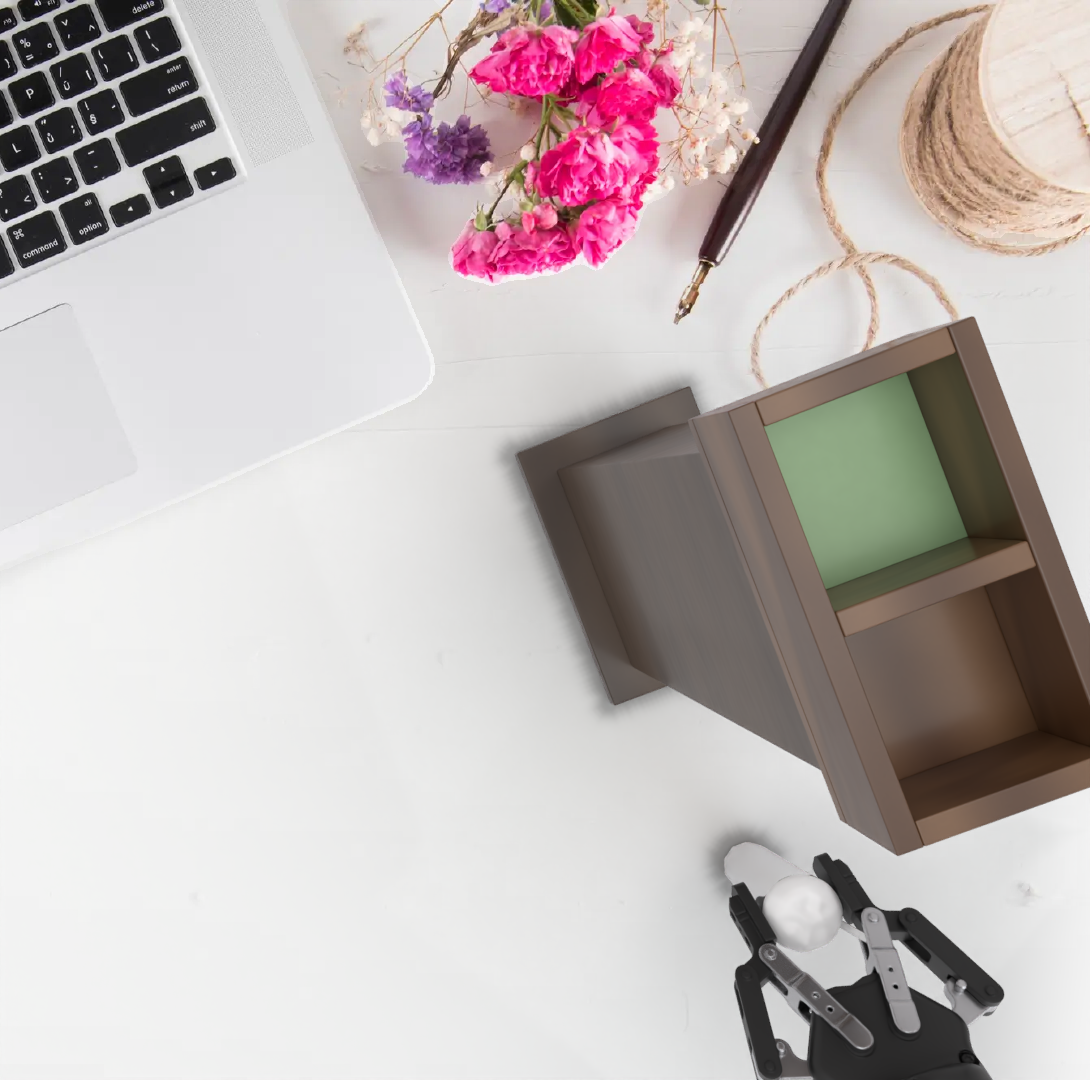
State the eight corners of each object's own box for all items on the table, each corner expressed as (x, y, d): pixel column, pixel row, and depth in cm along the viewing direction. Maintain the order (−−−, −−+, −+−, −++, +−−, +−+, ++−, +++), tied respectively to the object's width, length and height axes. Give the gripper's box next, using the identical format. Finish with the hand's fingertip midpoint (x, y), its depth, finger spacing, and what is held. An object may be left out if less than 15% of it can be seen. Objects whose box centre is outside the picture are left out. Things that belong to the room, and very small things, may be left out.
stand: (684, 387, 67) (940, 307, 39) (781, 639, 67) (1103, 738, 39) (513, 453, 68) (645, 422, 40) (610, 703, 68) (807, 845, 40)
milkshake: (783, 909, 68) (860, 979, 58) (704, 888, 68) (768, 953, 58) (802, 845, 68) (883, 904, 58) (723, 823, 68) (790, 878, 58)
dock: (907, 334, 39) (975, 314, 35) (1060, 740, 40) (1145, 768, 35) (686, 420, 40) (727, 411, 36) (839, 820, 40) (897, 856, 36)
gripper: (1137, 1126, 47) (899, 805, 59) (839, 1225, 48) (664, 890, 60) (1092, 1157, 52) (882, 858, 64) (825, 1246, 53) (666, 935, 65)
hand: (777, 875), depth 62 cm, fingers closed on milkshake, 4 cm apart
